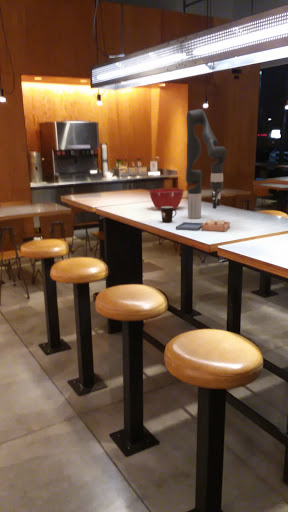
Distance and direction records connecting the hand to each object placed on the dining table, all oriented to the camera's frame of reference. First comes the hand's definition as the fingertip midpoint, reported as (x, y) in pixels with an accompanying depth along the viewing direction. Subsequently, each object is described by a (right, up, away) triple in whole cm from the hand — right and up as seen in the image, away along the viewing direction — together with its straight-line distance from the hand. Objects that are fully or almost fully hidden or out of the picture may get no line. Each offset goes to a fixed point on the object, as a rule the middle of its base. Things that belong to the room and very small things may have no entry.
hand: (216, 207), depth 258 cm
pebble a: (-3, -12, 0) cm, 13 cm away
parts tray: (-15, -12, +5) cm, 20 cm away
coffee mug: (-28, -7, +25) cm, 38 cm away
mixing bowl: (-26, +8, +82) cm, 86 cm away
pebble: (+2, -13, -2) cm, 13 cm away
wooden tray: (0, -13, -1) cm, 14 cm away
